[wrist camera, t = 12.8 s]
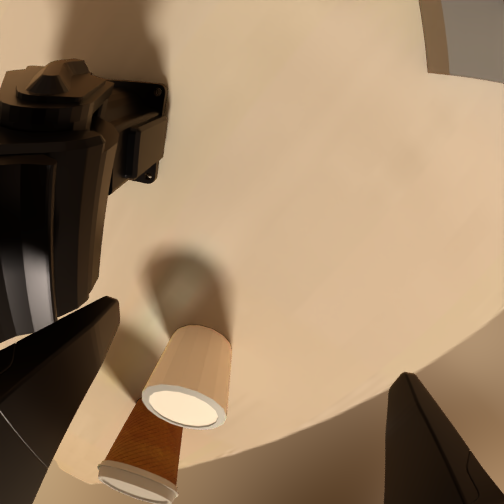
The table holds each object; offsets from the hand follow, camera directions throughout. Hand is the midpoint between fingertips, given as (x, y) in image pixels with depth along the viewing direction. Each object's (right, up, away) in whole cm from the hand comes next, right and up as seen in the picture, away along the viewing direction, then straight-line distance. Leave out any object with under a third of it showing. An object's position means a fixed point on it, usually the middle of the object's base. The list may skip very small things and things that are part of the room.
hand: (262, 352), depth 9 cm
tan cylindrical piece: (-5, -6, +20) cm, 21 cm away
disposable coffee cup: (-12, -17, +27) cm, 34 cm away
